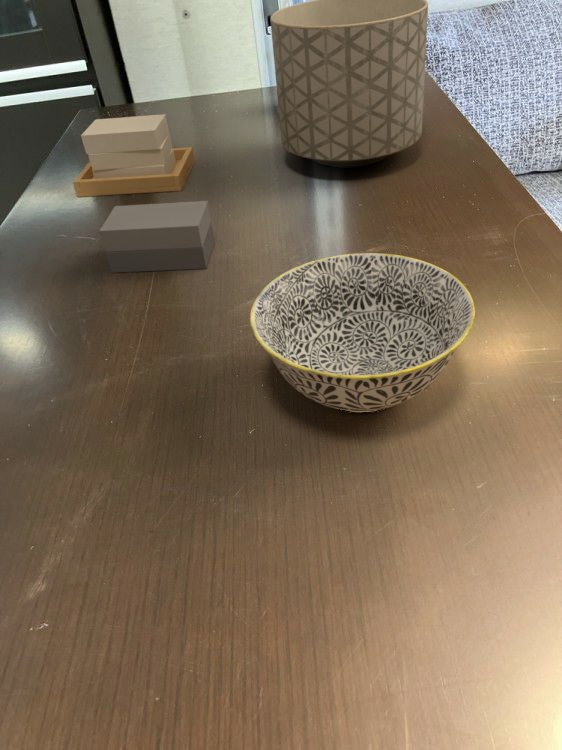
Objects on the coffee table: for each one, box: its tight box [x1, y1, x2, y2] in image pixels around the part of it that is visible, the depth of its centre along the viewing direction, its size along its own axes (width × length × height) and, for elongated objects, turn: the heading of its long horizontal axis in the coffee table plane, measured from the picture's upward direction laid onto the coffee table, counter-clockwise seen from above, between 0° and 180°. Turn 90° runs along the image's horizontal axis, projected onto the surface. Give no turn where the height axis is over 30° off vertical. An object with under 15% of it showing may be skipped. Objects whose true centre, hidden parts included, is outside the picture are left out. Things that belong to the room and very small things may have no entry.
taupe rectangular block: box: [87, 132, 176, 179], centre depth 86 cm, size 10×7×4 cm
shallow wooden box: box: [72, 146, 196, 198], centre depth 87 cm, size 15×11×2 cm
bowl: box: [249, 252, 476, 411], centre depth 47 cm, size 16×16×8 cm
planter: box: [269, 0, 429, 169], centre depth 81 cm, size 19×19×18 cm
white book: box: [80, 113, 170, 155], centre depth 84 cm, size 10×6×2 cm, turn 86°
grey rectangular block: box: [98, 200, 216, 274], centre depth 67 cm, size 10×6×5 cm, turn 86°
